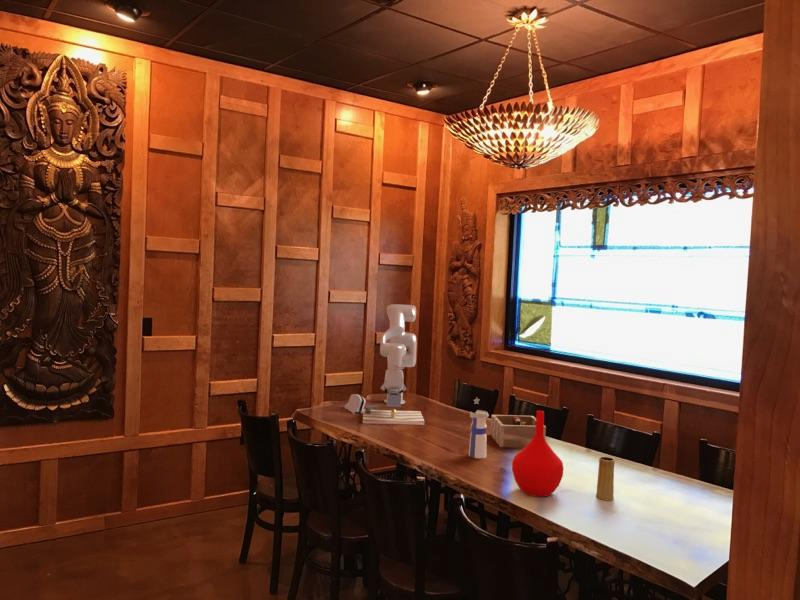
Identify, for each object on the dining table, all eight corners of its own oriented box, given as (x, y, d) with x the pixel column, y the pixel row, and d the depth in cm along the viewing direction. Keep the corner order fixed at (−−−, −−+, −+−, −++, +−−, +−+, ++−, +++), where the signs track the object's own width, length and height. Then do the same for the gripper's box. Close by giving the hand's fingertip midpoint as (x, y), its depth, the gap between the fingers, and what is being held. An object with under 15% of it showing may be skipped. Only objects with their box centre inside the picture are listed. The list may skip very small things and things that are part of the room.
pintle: (390, 420, 327) (391, 408, 327) (395, 420, 328) (395, 408, 327) (390, 421, 325) (391, 409, 325) (395, 421, 325) (395, 409, 325)
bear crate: (490, 434, 306) (491, 414, 306) (532, 435, 307) (533, 415, 307) (500, 447, 284) (501, 425, 284) (544, 448, 285) (545, 426, 285)
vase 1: (538, 505, 212) (542, 419, 211) (500, 488, 227) (504, 408, 226) (572, 495, 223) (577, 414, 222) (534, 480, 238) (538, 404, 237)
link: (386, 399, 342) (386, 388, 342) (398, 399, 343) (399, 388, 343) (387, 406, 322) (387, 395, 322) (400, 406, 322) (401, 395, 322)
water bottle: (463, 455, 269) (465, 398, 268) (476, 452, 274) (479, 396, 273) (477, 459, 262) (479, 401, 262) (490, 456, 268) (493, 399, 267)
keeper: (363, 416, 334) (363, 406, 333) (374, 414, 340) (374, 404, 340) (367, 417, 331) (368, 408, 331) (379, 415, 338) (379, 405, 338)
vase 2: (616, 500, 220) (618, 461, 219) (600, 500, 219) (602, 461, 219) (609, 494, 226) (611, 456, 225) (593, 494, 225) (595, 455, 225)
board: (363, 413, 341) (363, 409, 341) (420, 414, 343) (420, 411, 343) (362, 423, 318) (362, 419, 318) (424, 424, 320) (424, 421, 320)
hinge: (343, 407, 354) (349, 390, 355) (350, 409, 356) (357, 393, 357) (354, 413, 339) (360, 396, 340) (361, 416, 341) (367, 399, 342)
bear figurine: (513, 446, 288) (514, 420, 287) (502, 437, 302) (503, 413, 302) (540, 445, 290) (542, 420, 290) (528, 437, 305) (529, 412, 304)
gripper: (409, 367, 336) (408, 400, 336) (378, 366, 335) (377, 399, 335) (410, 369, 328) (409, 403, 329) (379, 368, 327) (377, 402, 328)
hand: (393, 401), depth 332 cm, fingers closed on link, 4 cm apart
